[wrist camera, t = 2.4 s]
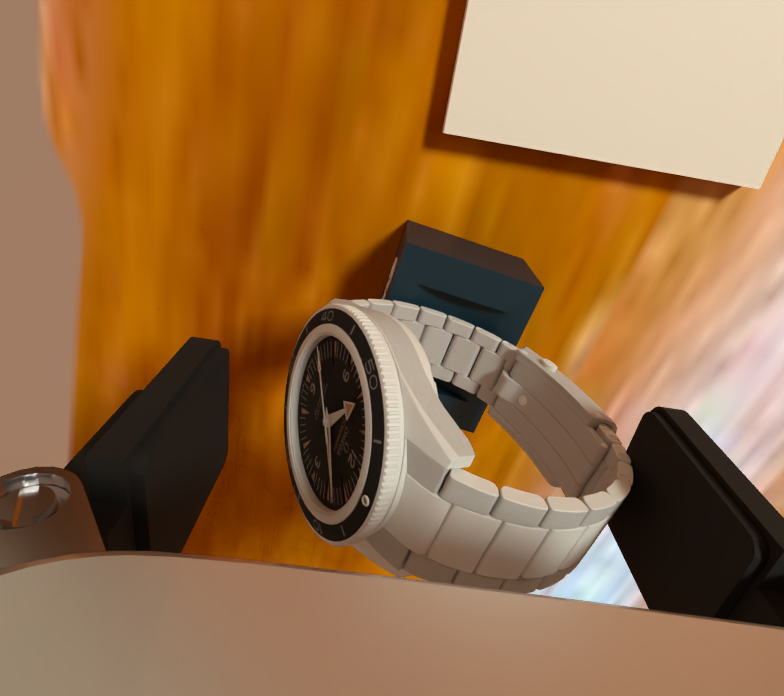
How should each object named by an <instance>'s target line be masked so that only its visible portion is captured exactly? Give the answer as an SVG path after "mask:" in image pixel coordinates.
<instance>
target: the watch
mask: <svg viewBox="0 0 784 696" xmlns="http://www.w3.org/2000/svg"><path fill="white" fill-rule="evenodd" d="M543 290H544V287H543V286H542V284H541V283H540V281H539V280H538V279H537V277H536V276H535V274H534V273H533V272H532V270H531V269H530V268H529V266H528V265H527V263H526V262H525V261H524V259H521V258H518V257H515V256H512V255H509V254H506V253H503V252H501V251H498V250H495V249H492V248H489V247H486V246H483V245H480V244H477V243H474V242H471V241H468V240H465V239H462V238H459V237H457V236H454V235H451V234H448V233H445V232H442V231H439V230H436V229H433V228H430V227H427V226H424V225H421V224H418V223H415V222H412V221H410V220H407V223H406V226H405V229H404V232H403V235H402V238H401V241H400V244H399V247H398V250H397V253H396V256H395V259H394V262H393V265H392V268H391V271H390V274H389V277H388V280H387V283H386V286H385V289H384V292H383V295H382V297H381V299H367V300H364V299H360V300H345V299H333V300H331V301H329V303H328V305H326V306H324V307H321V309H319V310H317V311H316V312H315V313H314V315H312V317H310V319H309V320H308V322H307V323H306V325H305V326H304V328H303V330H302V332H301V334H300V336H299V338H298V341H297V343H296V346H295V349H294V352H293V355H292V359H291V363H290V367H289V372H288V378H287V384H286V393H285V405H284V434H285V447H286V455H287V462H288V468H289V472H290V477H291V481H292V485H293V489H294V492H295V495H296V498H297V501H298V503H299V506H300V508H301V510H302V513H303V514H304V517H305V518H306V521H307V522H308V524H309V525H310V527H311V528H312V529H313V531H315V533H316V534H317V535H318V537H320V538H321V539H322V540H323V541H325V542H326V543H328V544H331V545H334V546H340V547H341V546H347V545H352V546H353V547H354V548H355V549H357V550H358V551H359V552H360V553H362V554H363V555H364V556H365V557H367V558H368V559H370V560H371V561H373V562H374V563H376V564H377V565H379V566H380V567H382V568H383V569H385V570H387V571H388V572H390V573H392V574H394V575H396V576H397V577H399V578H401V577H405V576H409V575H414V576H416V577H419V578H421V579H424V580H427V581H431V582H439V583H447V584H450V582H451V584H455V585H463V586H471V587H479V588H487V589H495V590H503V591H511V592H519V593H529V592H533V591H535V590H536V589H538V590H541V589H544V588H547V587H549V586H551V585H553V584H555V583H557V582H559V581H560V580H562V579H563V578H564V577H565V576H566V574H569V573H570V572H571V571H572V570H574V569H575V568H576V566H577V565H578V564H579V563H580V561H581V560H582V558H583V557H584V555H585V554H586V553H587V551H588V550H589V549H590V547H591V546H592V544H593V543H594V542H595V540H596V539H597V537H598V536H599V534H600V533H601V532H602V530H603V529H604V527H605V526H606V525H607V523H608V522H609V520H610V519H611V518H612V516H613V515H614V513H615V512H616V510H617V509H618V508H619V506H620V505H621V503H622V502H623V501H624V499H625V498H626V496H627V495H628V493H629V492H630V490H631V486H632V484H633V469H632V466H631V465H630V464H631V460H630V458H629V456H628V455H627V453H626V450H625V448H624V447H623V446H622V445H621V444H622V443H621V441H620V440H619V438H618V437H617V436H616V431H617V427H616V424H615V423H614V422H613V421H612V420H611V419H610V418H609V417H608V415H607V414H606V413H605V412H604V411H603V410H602V409H601V408H600V407H599V406H598V405H597V404H596V403H595V402H594V401H593V400H592V399H590V398H589V397H588V396H587V395H586V394H585V393H584V392H583V391H582V390H581V389H580V388H579V387H578V386H576V385H575V384H574V383H573V382H572V381H571V380H569V379H568V378H567V377H566V376H565V375H563V374H562V373H561V372H560V371H558V370H557V366H556V365H555V364H554V363H553V362H551V361H550V360H548V359H545V358H542V357H540V356H539V355H538V354H536V353H535V352H533V351H532V350H531V349H529V348H528V347H526V346H525V348H524V349H519V348H517V347H516V345H517V343H518V341H519V339H520V337H521V335H522V333H523V331H524V329H525V327H526V325H527V323H528V321H529V319H530V317H531V315H532V313H533V311H534V309H535V307H536V305H537V303H538V300H539V298H540V296H541V294H542V292H543ZM487 404H489V405H490V408H489V411H488V414H489V415H490V416H491V417H492V418H493V419H494V420H495V421H496V422H497V423H498V424H499V425H500V426H501V427H502V428H504V430H505V431H506V432H507V433H508V434H509V435H510V436H511V437H512V438H513V439H514V440H515V441H516V442H517V443H518V444H519V445H520V446H521V448H522V449H523V450H524V451H525V452H526V454H527V455H528V456H529V457H530V459H531V460H532V461H533V462H534V464H535V465H536V466H537V468H538V469H539V471H540V472H541V473H542V475H543V476H544V478H545V479H546V481H547V482H548V483H549V484H550V485H552V486H554V487H561V489H562V491H563V493H564V495H565V497H554V496H549V497H547V498H546V499H545V501H544V499H543V498H542V497H540V496H539V495H536V494H532V493H528V492H524V491H520V490H517V489H514V488H510V487H507V486H503V487H501V489H500V490H499V492H498V489H497V487H496V485H495V484H494V483H492V482H490V481H488V480H486V479H483V478H481V477H478V476H476V475H473V474H471V473H469V472H467V471H465V470H462V469H460V468H463V467H469V466H470V465H471V463H472V461H473V459H474V457H475V453H474V451H473V449H472V446H471V444H470V442H469V440H468V439H467V438H466V436H465V435H464V434H463V432H462V431H461V430H460V429H462V430H466V431H469V432H472V433H474V431H475V429H476V427H477V425H478V423H479V421H480V419H481V417H482V415H483V413H484V411H485V409H486V407H487Z"/></svg>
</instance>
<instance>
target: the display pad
mask: <svg viewBox="0 0 784 696" xmlns="http://www.w3.org/2000/svg"><path fill="white" fill-rule="evenodd" d="M442 132H443V133H446V134H451V135H457V136H463V137H468V138H474V139H480V140H485V141H491V142H496V143H502V144H508V145H513V146H519V147H524V148H530V149H536V150H541V151H547V152H552V153H558V154H564V155H569V156H575V157H581V158H586V159H592V160H597V161H603V162H609V163H614V164H620V165H625V166H631V167H637V168H642V169H648V170H653V171H659V172H665V173H670V174H676V175H681V176H687V177H693V178H698V179H704V180H710V181H715V182H721V183H726V184H732V185H738V186H743V187H749V188H754V189H760V187H761V185H762V183H763V181H764V179H765V177H766V174H767V172H768V170H769V168H770V166H771V164H772V162H773V160H774V158H775V155H776V153H777V151H778V149H779V147H780V145H781V143H782V141H783V138H784V0H467V2H466V8H465V13H464V18H463V24H462V29H461V34H460V39H459V45H458V50H457V55H456V61H455V66H454V71H453V77H452V82H451V87H450V92H449V98H448V103H447V108H446V114H445V119H444V124H443V129H442Z"/></svg>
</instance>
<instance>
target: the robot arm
mask: <svg viewBox="0 0 784 696" xmlns="http://www.w3.org/2000/svg"><path fill="white" fill-rule="evenodd" d="M228 402H229V351H228V349H226V348H221V344H220V342H219V341H217V340H210V339H204V338H197V337H191V338H190V339H189V340H188V341H187V342H186V343H185V344H184V345H183V346H182V347H181V349H180V350H179V351H178V352H177V353H176V354H175V355H174V356H173V358H172V359H171V360H170V361H169V362H168V363H167V364H166V365H165V367H164V368H163V369H162V370H161V371H160V372H159V373H158V374H157V376H156V377H155V378H154V379H153V380H152V381H151V382H150V383H149V385H148V386H147V387H146V388H145V389H144V390H138V391H135V392H134V393H133V394H132V395H131V396H130V397H129V398H128V399H127V400H126V401H125V402H124V403H123V404H122V406H121V407H120V408H119V409H118V410H117V411H116V412H115V413H114V414H113V415H112V416H111V418H110V419H109V420H108V421H107V422H106V423H105V424H104V425H103V426H102V427H101V428H100V430H99V431H98V432H97V433H96V434H95V435H94V436H93V437H92V438H91V439H90V440H89V442H88V443H87V444H86V445H85V446H84V447H83V448H82V449H81V450H80V451H79V452H78V454H77V455H76V456H75V457H74V458H73V459H72V460H71V461H70V462H69V463H68V464H67V466H66V467H65V468H64V469H62V468H57V467H34V468H28V469H23V470H18V471H15V472H12V473H10V474H7V475H4V476H1V477H0V696H784V518H783V517H782V516H781V515H780V514H779V512H778V511H777V510H776V509H775V508H774V507H773V506H772V505H771V504H770V503H769V502H768V500H767V499H766V498H765V497H764V496H763V495H762V494H761V493H760V492H759V491H758V489H757V488H756V487H755V486H754V485H753V484H752V483H751V482H750V481H749V480H748V479H747V477H746V476H745V475H744V474H743V473H742V472H741V471H740V470H739V469H738V468H737V466H736V465H735V464H734V463H733V462H732V461H731V460H730V459H729V458H728V457H727V456H726V454H725V453H724V452H723V451H722V450H721V449H720V448H719V447H718V446H717V445H716V443H715V442H714V441H713V440H712V439H711V438H710V437H709V436H708V435H707V434H706V433H705V431H704V430H703V429H702V428H701V427H700V426H699V425H698V424H697V423H696V422H695V420H694V419H693V418H692V417H691V416H690V415H689V414H688V413H687V412H686V411H684V410H678V409H671V408H665V407H655V408H654V409H653V410H651V412H646V413H645V414H644V415H643V417H642V419H641V421H640V423H639V425H638V427H637V429H636V432H635V434H634V436H633V438H632V440H631V442H630V444H629V447H628V449H627V451H626V453H627V455H628V456H629V458H630V460H631V464H630V465H631V466H632V469H633V484H632V486H631V490H630V492H629V493H628V495H627V496H626V498H625V499H624V501H623V502H622V503H621V505H620V506H619V508H618V509H617V510H616V512H615V513H614V515H613V516H612V518H611V519H610V520H609V522H608V523H607V524H608V526H609V528H610V530H611V532H612V534H613V536H614V538H615V540H616V542H617V544H618V546H619V548H620V550H621V553H622V555H623V557H624V559H625V561H626V563H627V565H628V567H629V569H630V571H631V573H632V575H633V577H634V579H635V581H636V583H637V586H638V588H639V590H640V592H641V594H642V596H643V598H644V600H645V602H646V604H647V606H648V608H649V609H643V608H635V607H628V606H620V605H612V604H605V603H597V602H590V601H582V600H574V599H566V598H558V597H550V596H542V595H535V594H527V593H519V592H511V591H503V590H495V589H487V588H479V587H471V586H463V585H455V584H447V583H439V582H431V581H423V580H414V579H406V578H398V577H389V576H381V575H373V574H364V573H356V572H348V571H339V570H331V569H323V568H314V567H306V566H297V565H289V564H281V563H272V562H264V561H255V560H247V559H238V558H229V557H218V556H206V555H194V554H182V553H181V552H182V550H183V548H184V546H185V543H186V541H187V539H188V537H189V535H190V533H191V531H192V529H193V527H194V525H195V523H196V521H197V519H198V517H199V515H200V513H201V511H202V509H203V507H204V504H205V502H206V500H207V498H208V496H209V494H210V492H211V490H212V488H213V486H214V484H215V482H216V480H217V478H218V476H219V474H220V472H221V470H222V468H223V466H224V463H225V460H226V456H227V451H228Z"/></svg>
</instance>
